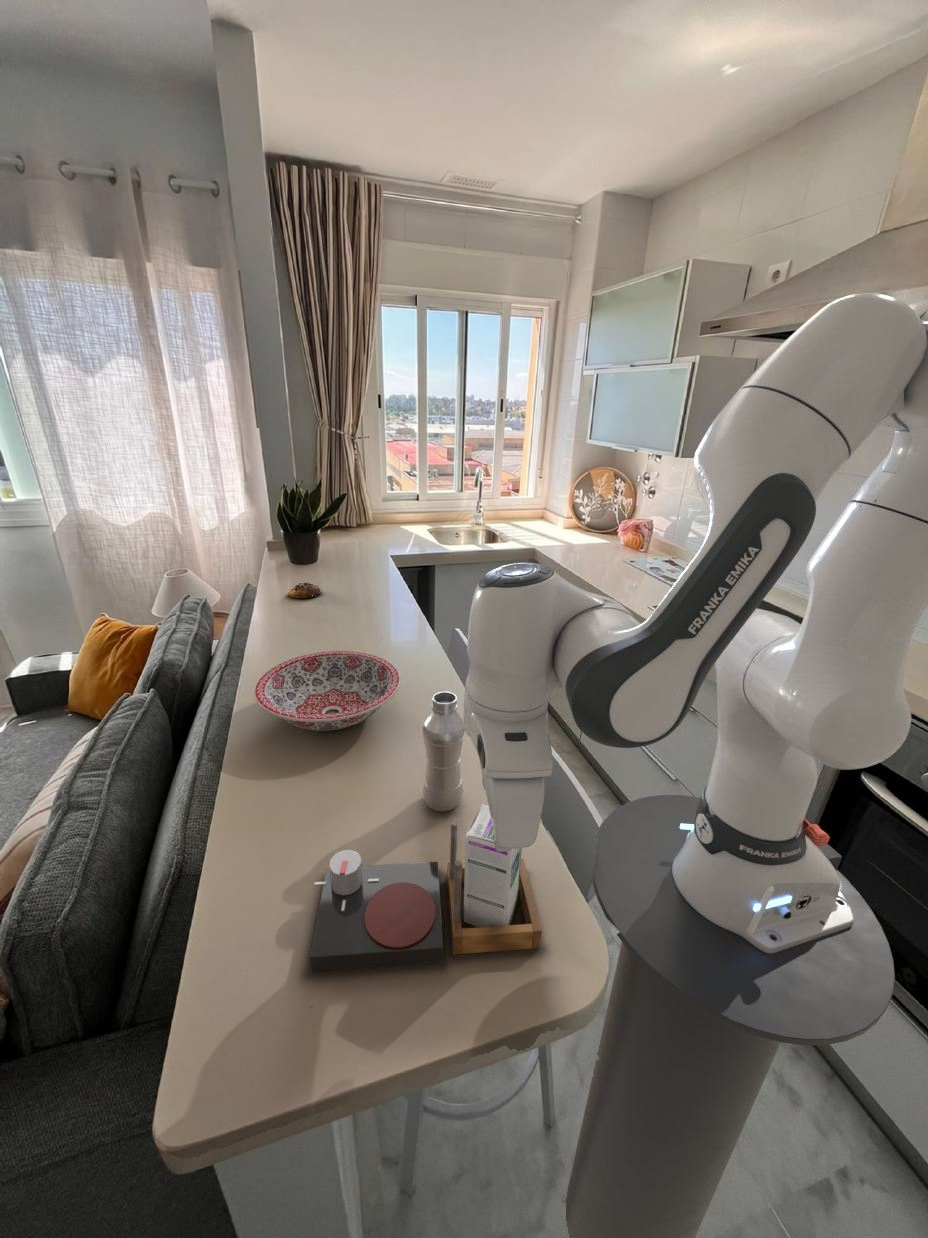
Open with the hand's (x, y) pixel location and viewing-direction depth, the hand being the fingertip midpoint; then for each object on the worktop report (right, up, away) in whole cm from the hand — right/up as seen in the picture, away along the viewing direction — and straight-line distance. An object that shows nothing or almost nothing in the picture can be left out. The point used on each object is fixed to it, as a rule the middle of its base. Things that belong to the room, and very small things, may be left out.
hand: (495, 814), depth 58 cm
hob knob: (-19, -11, +6) cm, 23 cm away
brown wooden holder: (0, -15, +6) cm, 16 cm away
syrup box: (0, -15, +6) cm, 16 cm away
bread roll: (-61, +32, +118) cm, 137 cm away
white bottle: (-7, -8, +24) cm, 26 cm away
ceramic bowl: (-32, +3, +47) cm, 57 cm away
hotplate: (-11, -13, +2) cm, 18 cm away
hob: (-14, -15, +4) cm, 21 cm away
